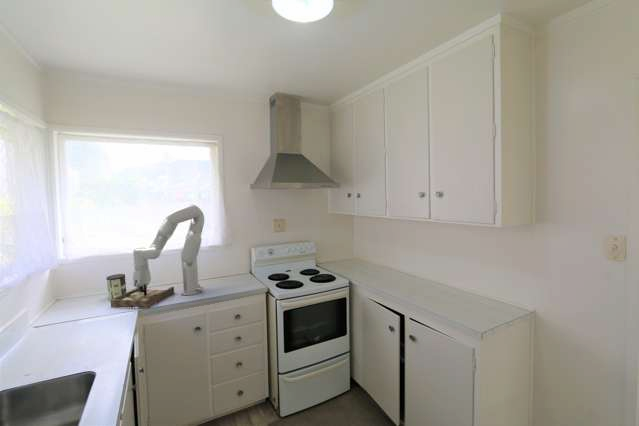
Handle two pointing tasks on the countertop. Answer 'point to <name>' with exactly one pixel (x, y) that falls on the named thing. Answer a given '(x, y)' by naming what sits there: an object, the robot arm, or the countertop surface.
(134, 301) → the wooden tray
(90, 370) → the countertop surface
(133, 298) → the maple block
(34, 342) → the countertop surface
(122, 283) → the coffee can
